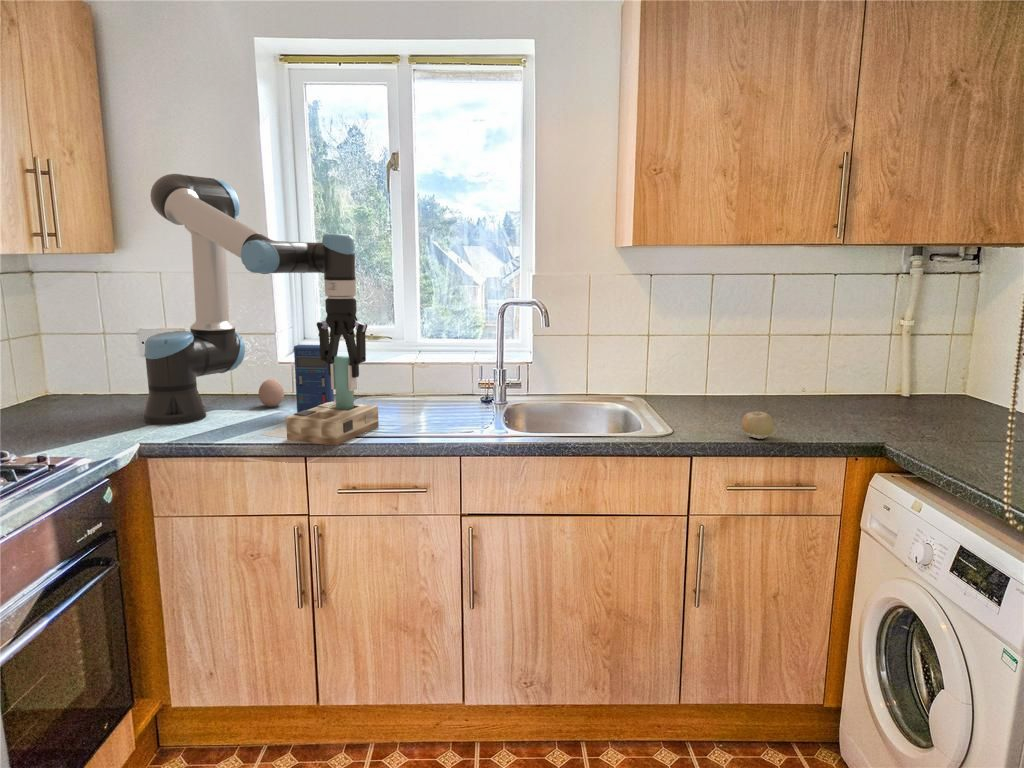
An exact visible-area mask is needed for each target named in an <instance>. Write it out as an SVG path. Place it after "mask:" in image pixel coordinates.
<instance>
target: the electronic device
mask: <svg viewBox="0 0 1024 768" xmlns="http://www.w3.org/2000/svg"><path fill="white" fill-rule="evenodd" d="M293 353H294V354H293V356H294V357H293V358H294V376H295V393H296V394H295V396H296V399H295V400H296V413H298V412H301V411H304V410H309V409H312V408H315V407H317V406H319V405H322V404H325V403H329V402H335V397H334V389H331V376H329V374H328V363H327V362H326V361H322V360H321V356H320V344H297V345H294V346H293Z"/></svg>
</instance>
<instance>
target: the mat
mask: <svg viewBox="0 0 1024 768" xmlns="http://www.w3.org/2000/svg"><path fill="white" fill-rule="evenodd" d="M260 436H265V437H270V438H271V437H273V438H281V439H287V427H283V426H281V427H277V428H275V429H271V430H270V431H266V432H264V433H261V434H260Z"/></svg>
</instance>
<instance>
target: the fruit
mask: <svg viewBox="0 0 1024 768" xmlns="http://www.w3.org/2000/svg"><path fill="white" fill-rule="evenodd" d="M741 427H742V431H743V432H744V431H745V432H747V433H750V434H755V435H770V434H772V433H773V430H774V421H773V418H772V417H771V415H770V414H768V412H767V413H766V412H765V411H763V408H760V410H759V411H750V412H747V413H746V414H745V415H744V416H743V417H742V420H741ZM745 432H744V433H745ZM770 436H771V435H770Z"/></svg>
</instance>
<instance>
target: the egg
mask: <svg viewBox="0 0 1024 768" xmlns="http://www.w3.org/2000/svg"><path fill="white" fill-rule="evenodd" d="M257 395H258V400H259V401H260V402H261V404H263V405H264V406H266V407H269V408H273V407H277V406H279V405H280V404H281V403H282V402H283V400H284V398H285V390H284V388H283V386H282V384H281V383H280V382H279V381H278V380H276V379H274V378H269V379H266V380H265V381H263V382H262V383H261V384H260V386H259V389H258V394H257Z"/></svg>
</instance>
